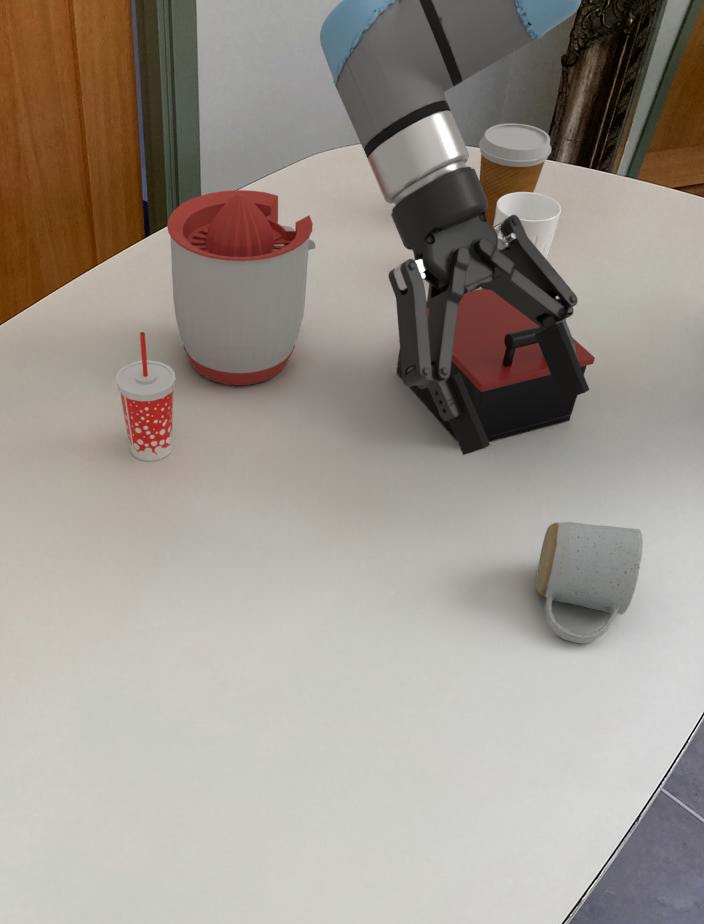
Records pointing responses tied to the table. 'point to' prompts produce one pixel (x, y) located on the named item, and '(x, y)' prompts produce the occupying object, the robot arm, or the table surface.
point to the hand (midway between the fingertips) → (527, 422)
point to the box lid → (499, 343)
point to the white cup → (531, 216)
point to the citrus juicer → (238, 284)
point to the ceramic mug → (588, 571)
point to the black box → (508, 405)
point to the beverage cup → (147, 406)
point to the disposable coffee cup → (511, 161)
